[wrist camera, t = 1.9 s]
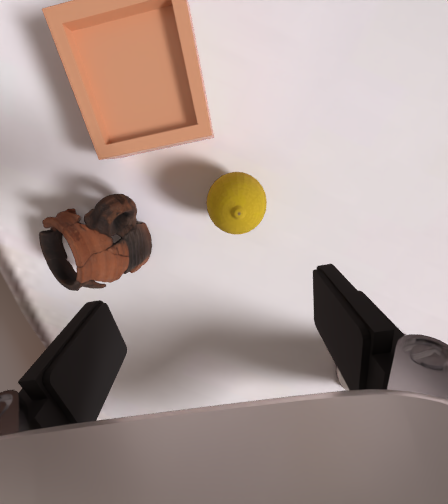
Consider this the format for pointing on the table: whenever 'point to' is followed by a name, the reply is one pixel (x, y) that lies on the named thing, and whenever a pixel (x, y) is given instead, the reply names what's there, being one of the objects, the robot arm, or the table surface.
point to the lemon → (236, 203)
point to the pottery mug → (96, 243)
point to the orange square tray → (133, 73)
